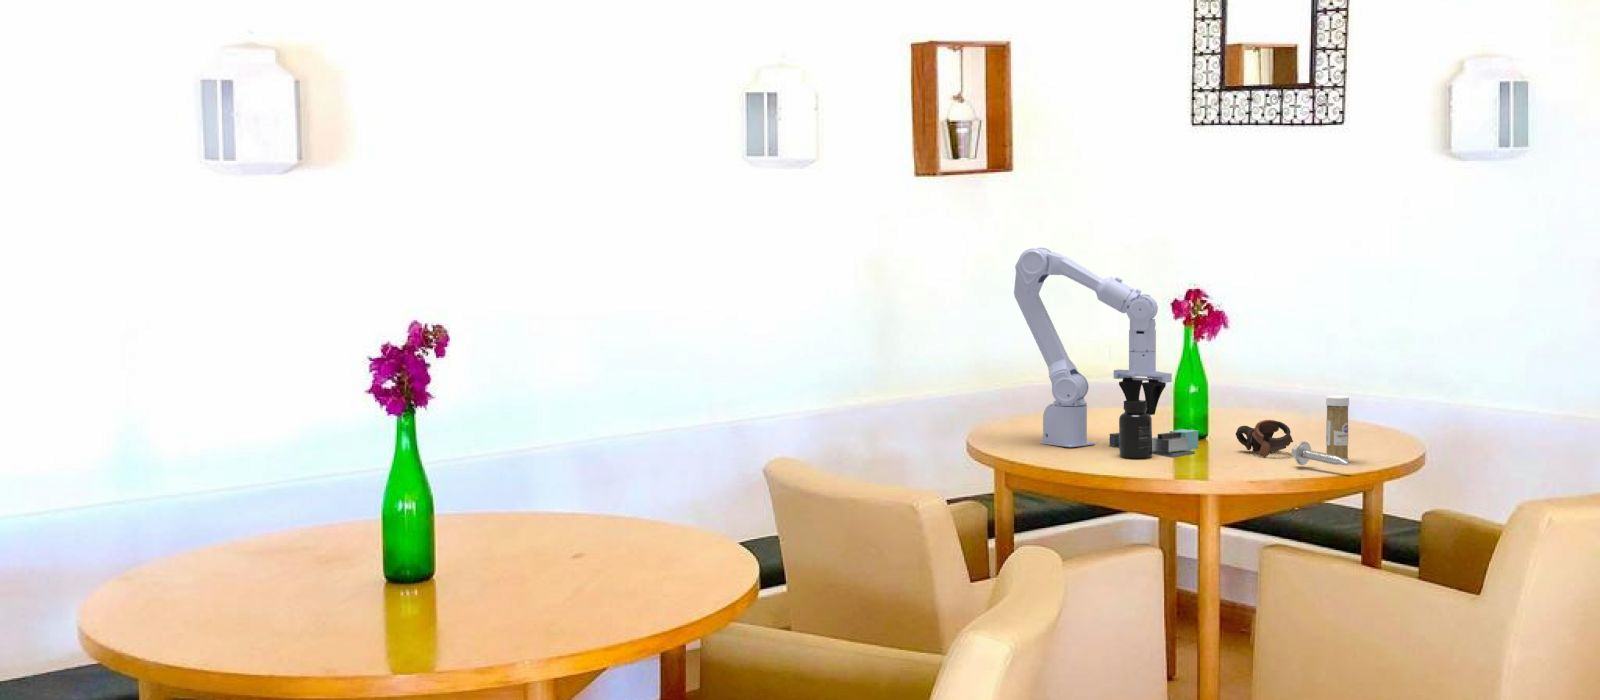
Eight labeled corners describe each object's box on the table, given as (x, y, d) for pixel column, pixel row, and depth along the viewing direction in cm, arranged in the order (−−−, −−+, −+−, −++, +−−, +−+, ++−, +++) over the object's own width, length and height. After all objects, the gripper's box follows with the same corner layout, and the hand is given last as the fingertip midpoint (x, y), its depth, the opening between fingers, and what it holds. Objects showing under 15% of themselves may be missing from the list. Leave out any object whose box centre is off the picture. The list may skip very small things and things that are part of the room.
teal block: (1169, 451, 399) (1169, 431, 399) (1182, 449, 403) (1182, 429, 403) (1185, 453, 397) (1185, 432, 396) (1198, 451, 400) (1198, 430, 400)
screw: (1286, 464, 376) (1288, 440, 375) (1301, 462, 379) (1303, 439, 378) (1340, 475, 365) (1342, 451, 365) (1355, 473, 368) (1357, 449, 368)
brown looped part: (1292, 452, 395) (1298, 422, 391) (1282, 478, 388) (1288, 447, 384) (1237, 438, 400) (1242, 407, 395) (1226, 463, 393) (1231, 432, 388)
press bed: (1109, 449, 403) (1109, 433, 403) (1131, 447, 407) (1131, 431, 407) (1172, 457, 389) (1172, 441, 388) (1194, 455, 393) (1194, 438, 392)
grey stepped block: (1150, 450, 394) (1150, 433, 394) (1169, 447, 398) (1170, 431, 397) (1168, 452, 390) (1168, 435, 390) (1187, 449, 394) (1187, 433, 393)
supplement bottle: (1150, 455, 393) (1150, 399, 392) (1153, 459, 386) (1153, 402, 386) (1117, 455, 394) (1118, 399, 393) (1120, 459, 387) (1120, 402, 386)
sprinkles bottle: (1344, 462, 379) (1345, 397, 378) (1322, 461, 381) (1323, 396, 380) (1351, 460, 382) (1352, 395, 381) (1329, 458, 385) (1330, 394, 384)
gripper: (1104, 350, 402) (1104, 412, 402) (1156, 353, 390) (1156, 417, 391) (1125, 348, 406) (1125, 410, 407) (1178, 352, 395) (1177, 415, 396)
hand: (1142, 414), depth 399 cm, fingers open, 4 cm apart
